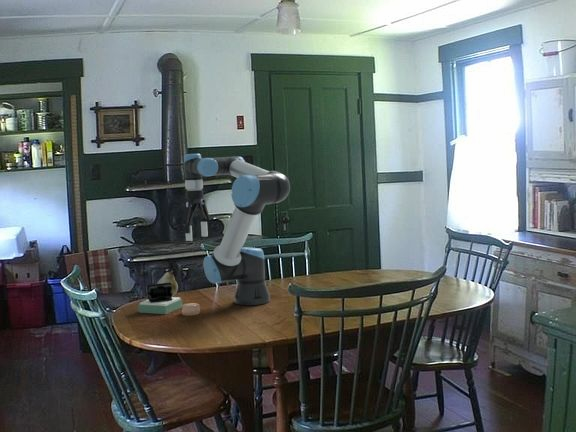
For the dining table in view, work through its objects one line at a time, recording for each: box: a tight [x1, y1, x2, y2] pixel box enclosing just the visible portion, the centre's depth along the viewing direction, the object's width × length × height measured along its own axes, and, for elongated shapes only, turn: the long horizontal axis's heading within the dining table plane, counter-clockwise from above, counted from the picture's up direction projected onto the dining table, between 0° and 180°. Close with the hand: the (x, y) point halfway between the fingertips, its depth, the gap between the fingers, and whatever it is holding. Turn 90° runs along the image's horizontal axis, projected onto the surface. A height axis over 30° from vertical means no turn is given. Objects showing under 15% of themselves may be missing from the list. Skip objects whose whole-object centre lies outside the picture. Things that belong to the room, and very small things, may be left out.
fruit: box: [156, 270, 179, 297], centre depth 309 cm, size 10×9×12 cm
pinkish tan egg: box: [181, 302, 201, 317], centre depth 278 cm, size 7×7×4 cm
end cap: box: [145, 283, 173, 303], centre depth 286 cm, size 10×7×7 cm
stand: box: [137, 296, 184, 315], centre depth 287 cm, size 13×13×4 cm
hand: (197, 238), depth 301 cm, fingers open, 13 cm apart
